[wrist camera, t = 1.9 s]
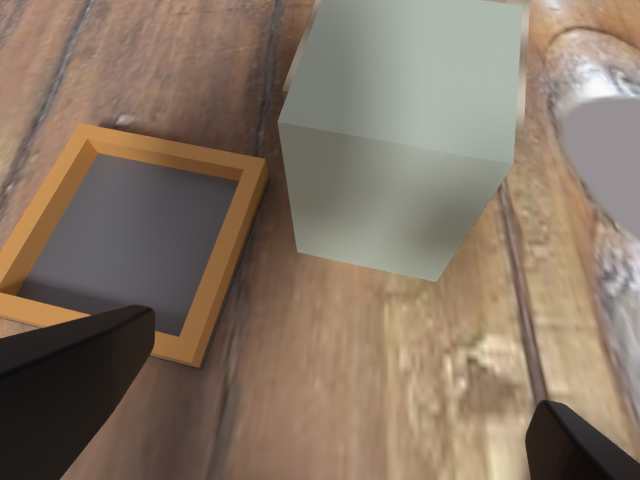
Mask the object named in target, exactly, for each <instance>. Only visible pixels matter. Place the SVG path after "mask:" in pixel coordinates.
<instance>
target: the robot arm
mask: <svg viewBox="0 0 640 480" xmlns="http://www.w3.org/2000/svg"><path fill="white" fill-rule="evenodd" d="M155 319H156V316H155V311H154V310H153V308H150V307H146V306H142V305H138V304H134V305H130V306H126V307H122V308H118V309H114V310H110V311H106V312H102V313H98V314H95V315H91V316H87V317H83V318H79V319H75V320H71V321H67V322H63V323H59V324H55V325H51V326H48V327H44V328H40V329H36V330H32V331H28V332H24V333H20V334H16V335H12V336H8V337H4V338H0V480H60V478H61V477H62V476H63V475H64V473H65V472H66V471H67V470H68V468H69V467H70V466H71V465H72V463H73V462H74V461H75V460H76V458H77V457H78V456H79V455H80V453H81V452H82V451H83V450H84V448H85V447H86V446H87V445H88V443H89V442H90V441H91V439H92V438H93V437H94V436H95V434H96V433H97V432H98V431H99V429H100V428H101V427H102V426H103V424H104V423H105V422H106V421H107V419H108V418H109V417H110V415H111V414H112V413H113V411H114V410H115V408H116V407H117V405H118V404H119V403H120V401H121V399H122V398H123V396H124V395H125V393H126V392H127V390H128V388H129V387H130V385H131V384H132V382H133V381H134V379H135V378H136V376H137V374H138V373H139V371H140V370H141V368H142V367H143V365H144V363H145V362H146V360H147V359H148V357H149V356H150V354H151V352H152V350H153V347H154V343H155ZM525 445H526V452H527V458H528V464H529V470H530V477H531V480H640V464H639V463H638V462H637V461H636V460H634V459H633V458H632V457H631V456H629V455H628V454H627V453H626V452H624V451H623V450H622V449H621V448H619V447H618V446H617V445H616V444H614V443H613V442H612V441H610V440H609V439H608V438H607V437H605V436H604V435H603V434H602V433H600V432H599V431H598V430H597V429H595V428H594V427H593V426H592V425H590V424H589V423H588V422H587V421H585V420H584V419H583V418H582V417H580V416H579V415H578V414H577V413H575V412H574V411H573V410H572V409H570V408H569V407H568V406H566V405H565V404H562V403H558V402H554V401H550V400H541V401H540V402H539V403H538V405H537V407H536V409H535V412H534V415H533V417H532V420H531V422H530V425H529V427H528V430H527V433H526V438H525Z"/></svg>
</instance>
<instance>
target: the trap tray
mask: <svg viewBox="0 0 640 480" xmlns="http://www.w3.org/2000/svg"><path fill="white" fill-rule="evenodd" d="M268 181H269V173H268V168H267V164H266V159H263V158H258V157H253V156H248V155H243V154H237V153H232V152H227V151H222V150H217V149H211V148H206V147H201V146H196V145H191V144H185V143H180V142H175V141H170V140H165V139H159V138H154V137H149V136H144V135H139V134H133V133H128V132H123V131H118V130H113V129H107V128H102V127H97V126H92V125H87V124H81V123H80V124H79V126H78V127H77V129H76V130H75V132H74V134H73V135H72V137H71V138H70V140H69V142H68V143H67V145H66V147H65V148H64V150H63V151H62V153H61V155H60V156H59V158H58V159H57V161H56V163H55V164H54V166H53V167H52V169H51V171H50V172H49V174H48V176H47V177H46V179H45V180H44V182H43V184H42V185H41V187H40V188H39V190H38V192H37V193H36V195H35V196H34V198H33V200H32V201H31V203H30V204H29V206H28V208H27V209H26V211H25V213H24V214H23V216H22V217H21V219H20V221H19V222H18V224H17V225H16V227H15V229H14V230H13V232H12V233H11V235H10V237H9V238H8V240H7V242H6V243H5V245H4V246H3V248H2V250H1V251H0V318H3V319H7V320H10V321H14V322H18V323H22V324H26V325H30V326H34V327H38V328H44V327H48V326H51V325H55V324H59V323H63V322H67V321H71V320H75V319H79V318H83V317H87V316H91V315H95V314H98V313H102V312H106V311H110V310H114V309H118V308H122V307H126V306H130V305H134V304H138V305H142V306H146V307H150V308H153V310H154V311H155V316H156V319H155V343H154V347H153V350H152V352H151V354H150V356H151V357H155V358H158V359H162V360H166V361H170V362H174V363H178V364H182V365H186V366H190V367H193V368H197V369H201V370H202V369H203V367H204V364H205V361H206V358H207V355H208V352H209V349H210V347H211V344H212V341H213V338H214V335H215V332H216V330H217V327H218V324H219V321H220V318H221V315H222V312H223V310H224V307H225V304H226V301H227V298H228V295H229V292H230V290H231V287H232V284H233V281H234V278H235V275H236V273H237V270H238V267H239V264H240V261H241V258H242V255H243V253H244V250H245V247H246V244H247V241H248V238H249V235H250V233H251V230H252V227H253V224H254V221H255V218H256V216H257V213H258V210H259V207H260V204H261V201H262V198H263V196H264V193H265V190H266V187H267V184H268Z"/></svg>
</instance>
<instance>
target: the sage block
mask: <svg viewBox="0 0 640 480" xmlns="http://www.w3.org/2000/svg"><path fill="white" fill-rule="evenodd" d="M522 7H523V6H519V5H512V4H505V3H498V2H491V1H483V0H322V2H321V4H320V7H319V10H318V12H317V15H316V18H315V21H314V23H313V26H312V29H311V32H310V34H309V37H308V40H307V42H306V45H305V48H304V51H303V53H302V56H301V59H300V62H299V64H298V67H297V70H296V73H295V75H294V78H293V81H292V83H291V86H290V89H289V92H288V94H287V97H286V100H285V103H284V105H283V108H282V111H281V113H280V116H279V119H278V129H279V135H280V142H281V148H282V155H283V161H284V168H285V175H286V181H287V188H288V194H289V201H290V208H291V214H292V221H293V227H294V234H295V241H296V247H297V252H299V253H304V254H309V255H313V256H318V257H322V258H327V259H332V260H336V261H341V262H345V263H350V264H355V265H359V266H364V267H368V268H373V269H378V270H382V271H387V272H392V273H396V274H401V275H405V276H410V277H415V278H419V279H424V280H428V281H433V282H437V280H438V279H439V277H440V276H441V274H442V273H443V271H444V270H445V268H446V267H447V265H448V264H449V262H450V261H451V259H452V258H453V256H454V254H455V253H456V251H457V250H458V248H459V247H460V245H461V244H462V242H463V241H464V239H465V238H466V236H467V235H468V233H469V232H470V230H471V229H472V227H473V225H474V224H475V222H476V221H477V219H478V218H479V216H480V215H481V213H482V212H483V210H484V209H485V207H486V206H487V204H488V203H489V201H490V200H491V198H492V196H493V195H494V193H495V192H496V190H497V189H498V187H499V186H500V184H501V183H502V181H503V180H504V178H505V177H506V175H507V174H508V172H509V170H510V169H511V167H512V166H513V163H514V146H515V129H516V111H517V94H518V76H519V59H520V41H521V24H522Z"/></svg>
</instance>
